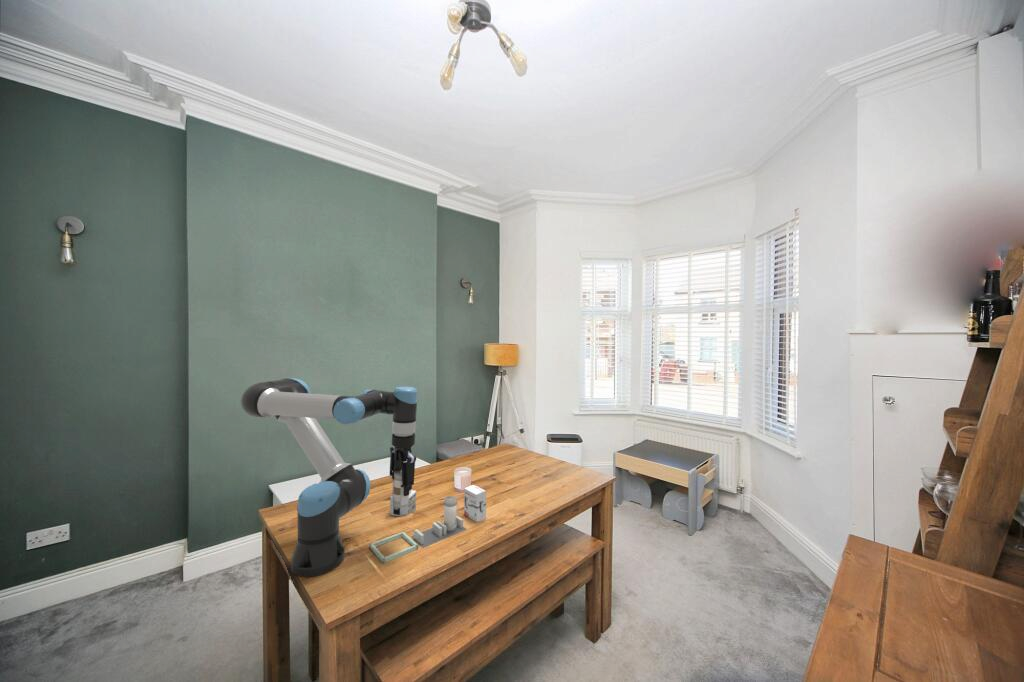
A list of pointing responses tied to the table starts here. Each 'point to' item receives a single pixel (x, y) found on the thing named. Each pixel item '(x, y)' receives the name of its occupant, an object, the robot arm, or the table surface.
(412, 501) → the container
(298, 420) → the robot arm
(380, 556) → the parts tray
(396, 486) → the cylinder
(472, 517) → the ink box
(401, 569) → the table surface
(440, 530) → the fuse block
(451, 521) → the cylinder
